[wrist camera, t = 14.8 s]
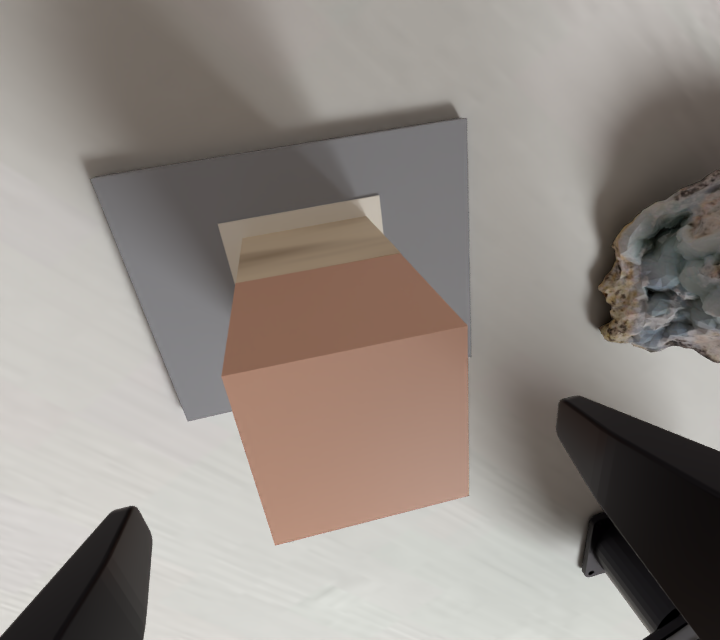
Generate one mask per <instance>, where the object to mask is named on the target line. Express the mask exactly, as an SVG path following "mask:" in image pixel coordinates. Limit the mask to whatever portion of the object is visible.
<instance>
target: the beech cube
mask: <svg viewBox="0 0 720 640" xmlns="http://www.w3.org/2000/svg"><path fill="white" fill-rule="evenodd" d="M399 253H400V252H399V250H398V249H397V248H396V247H395V246H394V245H393V244H392V243H391V242H390V241H389V240H388V239H387V238H386V237H385V236H384V234H383V233H382V232H381V231H380V230H379V229H378V228H377V227H376V226H375V225H374V224H373V223H372V222H371V221H370V219H369V218H368V217H367V216H364V217H358V218H352V219H347V220H341V221H336V222H330V223H325V224H319V225H314V226H308V227H302V228H297V229H291V230H286V231H280V232H275V233H269V234H264V235H258V236H252V237H247V238H242V245H241V252H240V258H239V265H238V272H237V278H236V283H240V282H245V281H251V280H256V279H262V278H267V277H273V276H278V275H284V274H289V273H295V272H300V271H306V270H311V269H317V268H322V267H328V266H333V265H339V264H344V263H350V262H355V261H361V260H366V259H372V258H377V257H383V256H388V255H394V254H399Z"/></svg>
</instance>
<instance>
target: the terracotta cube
mask: <svg viewBox="0 0 720 640" xmlns="http://www.w3.org/2000/svg"><path fill="white" fill-rule="evenodd" d="M221 377H222V380H223V384H224V387H225V390H226V393H227V396H228V399H229V402H230V405H231V409H232V412H233V415H234V418H235V421H236V424H237V427H238V431H239V434H240V437H241V440H242V443H243V446H244V449H245V452H246V456H247V459H248V462H249V465H250V468H251V471H252V474H253V478H254V481H255V484H256V487H257V490H258V493H259V496H260V499H261V503H262V506H263V509H264V512H265V515H266V518H267V521H268V525H269V528H270V531H271V534H272V537H273V540H274V543H275V545H279V544H283V543H287V542H291V541H295V540H299V539H302V538H306V537H310V536H314V535H318V534H322V533H326V532H330V531H334V530H337V529H341V528H345V527H349V526H353V525H357V524H361V523H365V522H369V521H373V520H376V519H380V518H384V517H388V516H392V515H396V514H400V513H404V512H408V511H412V510H415V509H419V508H423V507H427V506H431V505H435V504H439V503H443V502H447V501H450V500H454V499H458V498H462V497H466V496H469V437H468V325H467V324H466V323H465V322H464V321H463V320H462V319H461V318H460V317H459V316H458V315H457V314H456V313H455V311H454V310H453V309H452V308H451V307H450V306H449V305H448V304H447V303H446V302H445V301H444V300H443V299H442V297H441V296H440V295H439V294H438V293H437V292H436V291H435V290H434V289H433V288H432V287H431V286H430V285H429V284H428V282H427V281H426V280H425V279H424V278H423V277H422V276H421V275H420V274H419V273H418V272H417V271H416V270H415V268H414V267H413V266H412V265H411V264H410V263H409V262H408V261H407V260H406V259H405V258H404V257H403V256H402V254H401V253H399V254H394V255H388V256H383V257H377V258H372V259H366V260H361V261H355V262H350V263H344V264H339V265H333V266H328V267H322V268H317V269H311V270H306V271H300V272H295V273H289V274H284V275H278V276H273V277H267V278H262V279H256V280H251V281H245V282H240V283H235V289H234V296H233V303H232V309H231V316H230V322H229V329H228V336H227V342H226V349H225V355H224V362H223V369H222V375H221Z"/></svg>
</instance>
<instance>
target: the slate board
mask: <svg viewBox="0 0 720 640" xmlns="http://www.w3.org/2000/svg"><path fill="white" fill-rule="evenodd" d="M90 180H91V182H92V184H93V187H94V189H95V192H96V194H97V197H98V199H99V202H100V204H101V207H102V209H103V212H104V214H105V217H106V219H107V222H108V224H109V227H110V229H111V232H112V234H113V237H114V239H115V242H116V244H117V247H118V249H119V252H120V254H121V257H122V259H123V262H124V264H125V266H126V269H127V271H128V274H129V276H130V279H131V281H132V284H133V286H134V289H135V291H136V294H137V296H138V299H139V301H140V304H141V306H142V309H143V311H144V314H145V316H146V319H147V321H148V324H149V326H150V329H151V331H152V334H153V336H154V339H155V341H156V343H157V346H158V348H159V351H160V353H161V356H162V358H163V361H164V363H165V366H166V368H167V371H168V373H169V376H170V378H171V381H172V383H173V386H174V388H175V391H176V393H177V396H178V398H179V401H180V403H181V406H182V408H183V411H184V413H185V416H186V418H187V421H192V420H196V419H201V418H205V417H209V416H214V415H218V414H222V413H227V412H231V411H232V409H231V405H230V402H229V399H228V396H227V393H226V390H225V387H224V384H223V380H222V377H221V375H222V369H223V362H224V355H225V349H226V342H227V336H228V329H229V322H230V316H231V309H232V303H233V296H234V289H235V283H236V278H237V272H238V265H239V258H240V252H241V245H242V238H247V237H252V236H258V235H264V234H269V233H275V232H280V231H286V230H291V229H297V228H302V227H308V226H314V225H319V224H325V223H330V222H336V221H341V220H347V219H352V218H358V217H364V216H367V217H368V218H369V219H370V221H371V222H372V223H373V224H374V225H375V226H376V227H377V228H378V229H379V230H380V231H381V232H382V233H383V234H384V236H385V237H386V238H387V239H388V240H389V241H390V242H391V243H392V244H393V245H394V246H395V247H396V248H397V249H398V250H399V252H400V253H401V254H402V256H403V257H404V258H405V259H406V260H407V261H408V262H409V263H410V264H411V265H412V266H413V267H414V268H415V270H416V271H417V272H418V273H419V274H420V275H421V276H422V277H423V278H424V279H425V280H426V281H427V282H428V284H429V285H430V286H431V287H432V288H433V289H434V290H435V291H436V292H437V293H438V294H439V295H440V296H441V297H442V299H443V300H444V301H445V302H446V303H447V304H448V305H449V306H450V307H451V308H452V309H453V310H454V311H455V313H456V314H457V315H458V316H459V317H460V318H461V319H462V320H463V321H464V322H465V323H466V324H467V325H468V357H471V317H470V262H469V207H468V152H467V118H457V119H451V120H444V121H438V122H432V123H426V124H420V125H413V126H407V127H401V128H395V129H389V130H382V131H376V132H370V133H364V134H358V135H351V136H345V137H339V138H333V139H327V140H320V141H314V142H308V143H302V144H296V145H289V146H283V147H277V148H271V149H264V150H258V151H252V152H246V153H240V154H233V155H227V156H221V157H215V158H209V159H202V160H196V161H190V162H184V163H178V164H171V165H165V166H159V167H153V168H147V169H140V170H134V171H128V172H122V173H116V174H109V175H103V176H97V177H94V178H92V179H90Z"/></svg>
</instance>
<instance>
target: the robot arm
mask: <svg viewBox="0 0 720 640" xmlns="http://www.w3.org/2000/svg"><path fill="white" fill-rule="evenodd" d="M556 431H557V435H558V437H559V439H560V441H561V443H562V444H563V446H564V448H565V449H566V451H567V453H568V454H569V456H570V458H571V459H572V461H573V463H574V464H575V466H576V468H577V469H578V471H579V473H580V474H581V476H582V478H583V479H584V481H585V483H586V484H587V486H588V488H589V489H590V491H591V492H592V494H593V496H594V497H595V499H596V500H597V502H598V503H599V504H600V506H601V507H602V509H603V510H604V511H605V513H601V514H598V515H595V516H593V517H592V518H591V519H590V522H589V528H588V535H587V541H586V547H585V553H584V559H583V565H582V572H583V573H584V575H585V576H586V577H592V576H595V575H598V574H602V573H606V574H607V575H608V577H609V578H610V580H611V581H612V582H613V584H614V585H615V586H616V588H617V589H618V590H619V592H620V593H621V595H622V596H623V597H624V599H625V600H626V601H627V603H628V604H629V605H630V607H631V608H632V610H633V611H634V612H635V614H636V615H637V616H638V618H639V619H640V620H641V622H642V623H643V625H644V626H645V627H646V629H647V630H648V631H649V633H650V635H649V636H647V637H646V638H644V639H643V640H720V451H717V450H715V449H712V448H710V447H707V446H705V445H702V444H700V443H697V442H695V441H692V440H690V439H687V438H685V437H682V436H680V435H677V434H675V433H672V432H670V431H667V430H665V429H662V428H660V427H657V426H655V425H652V424H650V423H647V422H645V421H642V420H640V419H637V418H635V417H632V416H630V415H627V414H624V413H622V412H619V411H617V410H614V409H612V408H609V407H607V406H604V405H602V404H599V403H597V402H594V401H592V400H589V399H587V398H584V397H582V396H572V397H568V398H564V399H562V400H560V402H559V404H558V413H557V423H556ZM151 555H152V535H151V532H150V530H149V528H148V526H147V524H146V522H145V521H144V519H143V517H142V515H141V513H140V511H139V510H138V508H137V507H135V506H129V507H124V508H120V509H116V510H114V511H112V512H111V513H110V514H109V515H108V516H107V517H106V518H105V519H104V520H103V521H102V522H101V524H100V525H99V526H98V527H97V528H96V529H95V530H94V532H93V533H92V534H91V535H90V536H89V537H88V538H87V539H86V541H85V542H84V543H83V544H82V545H81V546H80V547H79V548H78V550H77V551H76V552H75V553H74V554H73V555H72V556H71V558H70V559H69V560H68V561H67V562H66V563H65V564H64V565H63V567H62V568H61V569H60V570H59V571H58V572H57V573H56V575H55V576H54V577H53V578H52V579H51V580H50V581H49V582H48V584H47V585H46V586H45V587H44V588H43V589H42V590H41V591H40V593H39V594H38V595H37V596H36V597H35V598H34V599H33V601H32V602H31V603H30V604H29V605H28V606H27V607H26V608H25V610H24V611H23V612H22V613H21V614H20V615H19V616H18V617H17V619H16V620H15V621H14V622H13V623H12V624H11V625H10V627H9V628H8V629H7V630H6V631H5V632H4V633H3V634H2V636H1V637H0V640H143V638H144V631H145V625H146V616H147V604H148V592H149V580H150V567H151Z"/></svg>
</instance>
